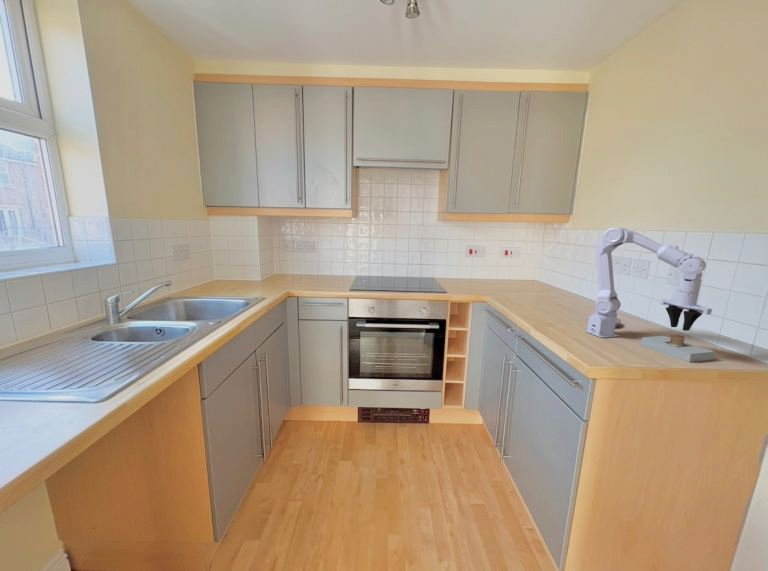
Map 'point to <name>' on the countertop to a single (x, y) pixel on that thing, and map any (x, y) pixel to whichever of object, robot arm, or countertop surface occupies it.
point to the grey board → (678, 349)
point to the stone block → (618, 322)
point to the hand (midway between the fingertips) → (679, 328)
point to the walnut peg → (677, 340)
